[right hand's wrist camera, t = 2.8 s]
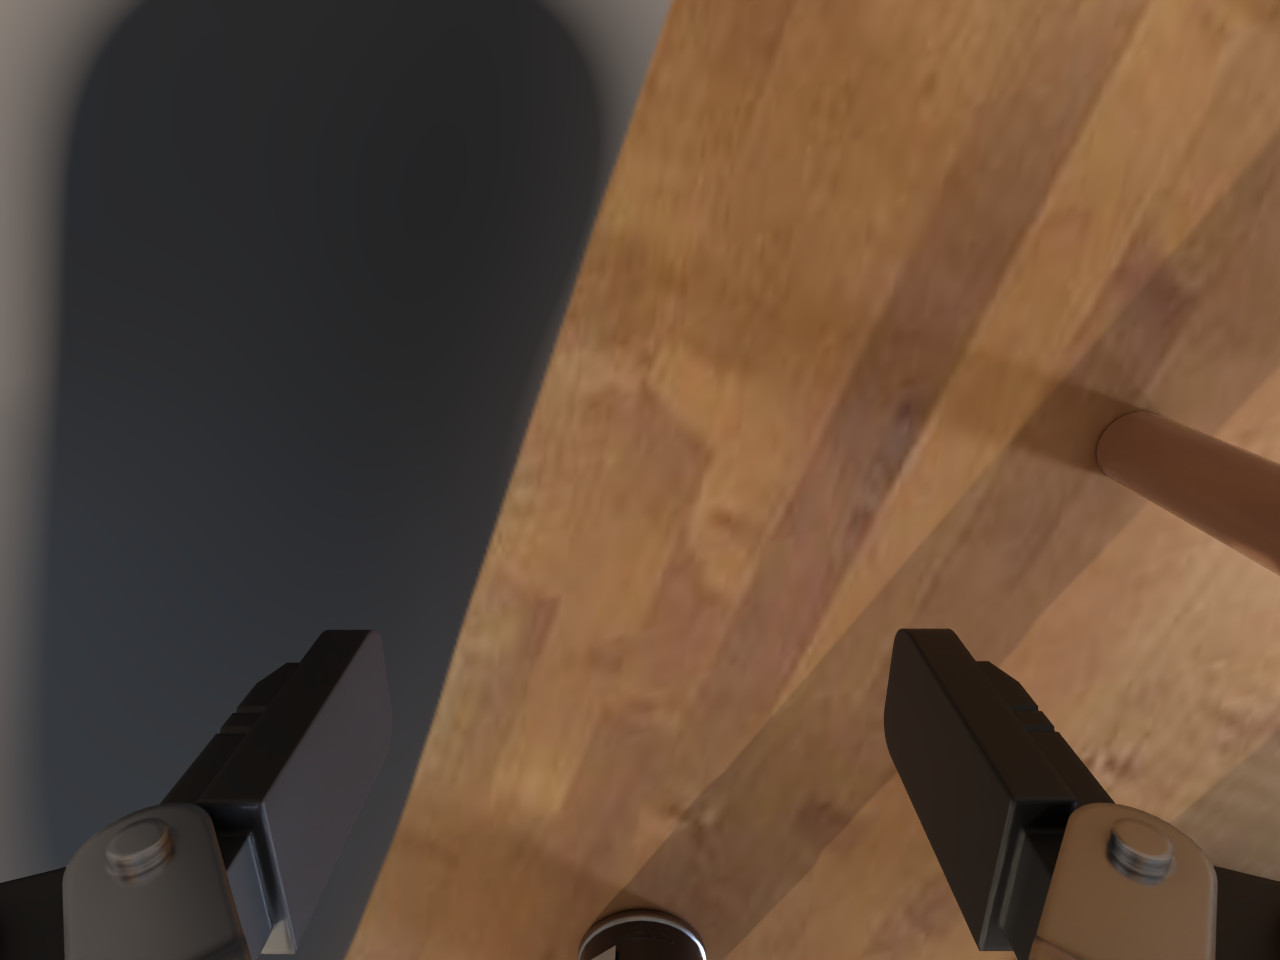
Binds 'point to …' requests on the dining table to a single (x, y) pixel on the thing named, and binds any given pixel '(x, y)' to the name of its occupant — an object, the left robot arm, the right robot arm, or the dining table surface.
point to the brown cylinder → (1198, 481)
